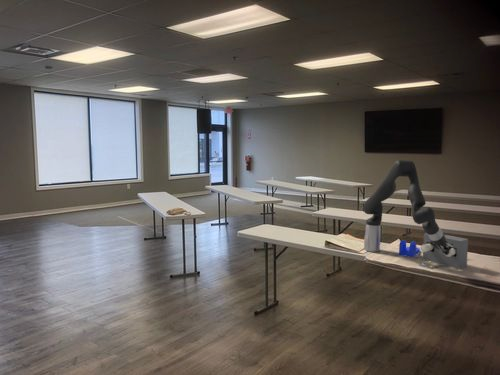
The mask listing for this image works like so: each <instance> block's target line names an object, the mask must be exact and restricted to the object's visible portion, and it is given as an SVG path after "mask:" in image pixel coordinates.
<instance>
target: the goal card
mask: <svg viewBox="0 0 500 375" xmlns="http://www.w3.org/2000/svg"><path fill="white" fill-rule="evenodd" d="M418 266H419V267H423V268H426V267H427V269H430V270H432V269H435V268H438V265H434V264H429V263H427V262H422V263H420V264H418Z"/></svg>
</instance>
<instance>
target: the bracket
mask: <svg viewBox="0 0 500 375" xmlns="http://www.w3.org/2000/svg"><path fill="white" fill-rule="evenodd" d="M398 247H399V248H398V255H399V256H402V255H403V256H404V257H408V256H409V258H414V257H415V256H417V255H418V254H419V253H420V250H421V248H419V247H417V242H416V241H411V242H410V243H409V246H407V241H406V240H404V239H403V240H402V239H401V240H400V241H399V246H398ZM416 254H417V255H416Z"/></svg>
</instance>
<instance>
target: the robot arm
mask: <svg viewBox="0 0 500 375" xmlns="http://www.w3.org/2000/svg"><path fill="white" fill-rule="evenodd" d="M399 177H403V178H404V177H407V178H408V179H409V181H410V182H409V186H408V189H407V197H408V199H409V201H410V204H411V209H412V214H411V215H412V220H413V221H414V223H415V224H417V225H421V224H422V225H421V226H422V229H423V230H424V231H425V233H426V234H427V236H428V238H429V239H430V241H431V242H430V244H431V245H432V246H434V247H435V248H437V249H440V250H441V251H443V253H444V254H445V255H448V254H449V251H450V250H451V248H452V247H453V244H448V242H447V241H446V238H445V235H446V234H444V232H443V231H442V229H441V227H439V225H438V224H437V220H436V215H435V211H434V209H433V208H432V207H430V206H427V207H424V206H425V205H426V202H427V201H426V199H425V196H424V194H423V192H422V190H421V186H420V182H419V176H418V171H417V167H416V165H415V163H414V161H413V160H410V159H407V160H406V159H397V160H395V161H394V162H393V164H392V166H391V167H390V169H389V171H388V173H387V174H386V175H385V177H384V179H383V180H382V181H381V183H380V184H379V185H378V187H377V188H376V189H375V191H374V192H373V193H372V194H371V196H369V197H368V198H367V199H366V201H364V204H363V207H362V208H363V209H362V210H363V213H365V215H372V216H371V217H370V218H367V219H366V220H365V234H364V236H363V237H364V242H363V245H364V246H363V249H364V250H365V251H366V252H370V253H371V252H372V253H373V252H374V253H375V252H376V253H377V252H380V250H381V229H382V228H381V227H382V226H381V225H382V220H383V218H382V217H383V203H382V202H384V201H386V200H387V199H389V198H390V197H391V196H392V195H393V194H394V193H395V192H396V190H397V183H396V180H397V179H398V178H399ZM447 246H448V247H447Z"/></svg>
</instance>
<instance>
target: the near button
mask: <svg viewBox="0 0 500 375" xmlns="http://www.w3.org/2000/svg"><path fill="white" fill-rule="evenodd" d="M456 251H457V248H451V250H450V251H449V254H448V255H445V256H447V257H450V256H452V255H456Z"/></svg>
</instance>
